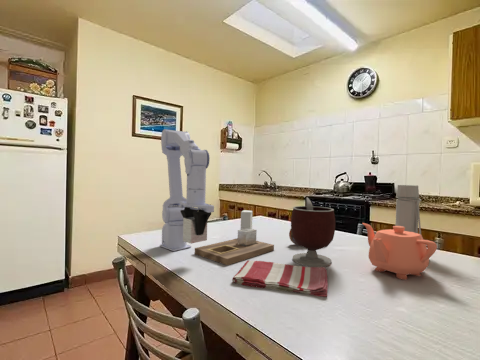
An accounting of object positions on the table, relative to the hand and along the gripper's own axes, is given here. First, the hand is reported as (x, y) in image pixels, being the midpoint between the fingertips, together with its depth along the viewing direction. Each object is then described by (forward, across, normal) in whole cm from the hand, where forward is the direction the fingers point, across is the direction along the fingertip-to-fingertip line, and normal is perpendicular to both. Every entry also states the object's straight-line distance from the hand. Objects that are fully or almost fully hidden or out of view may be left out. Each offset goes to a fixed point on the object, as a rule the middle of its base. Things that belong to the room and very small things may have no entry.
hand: (195, 233), depth 81 cm
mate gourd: (+9, +23, +30) cm, 39 cm away
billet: (+2, 0, 0) cm, 2 cm away
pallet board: (+9, 0, +18) cm, 20 cm away
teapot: (+9, +45, +38) cm, 60 cm away
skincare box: (+10, -11, +36) cm, 39 cm away
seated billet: (+9, 0, +24) cm, 26 cm away
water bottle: (+9, +44, +64) cm, 78 cm away
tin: (+10, +12, +47) cm, 49 cm away
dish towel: (+10, +25, +10) cm, 29 cm away
